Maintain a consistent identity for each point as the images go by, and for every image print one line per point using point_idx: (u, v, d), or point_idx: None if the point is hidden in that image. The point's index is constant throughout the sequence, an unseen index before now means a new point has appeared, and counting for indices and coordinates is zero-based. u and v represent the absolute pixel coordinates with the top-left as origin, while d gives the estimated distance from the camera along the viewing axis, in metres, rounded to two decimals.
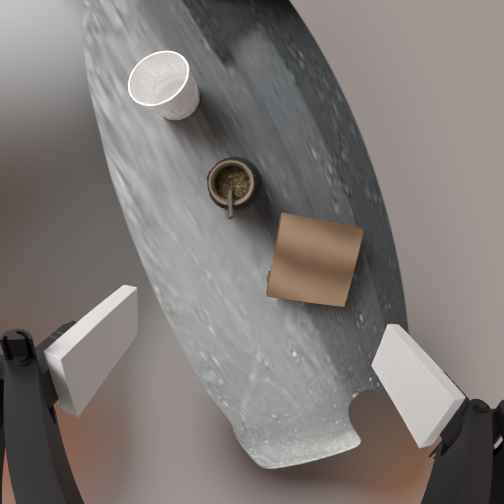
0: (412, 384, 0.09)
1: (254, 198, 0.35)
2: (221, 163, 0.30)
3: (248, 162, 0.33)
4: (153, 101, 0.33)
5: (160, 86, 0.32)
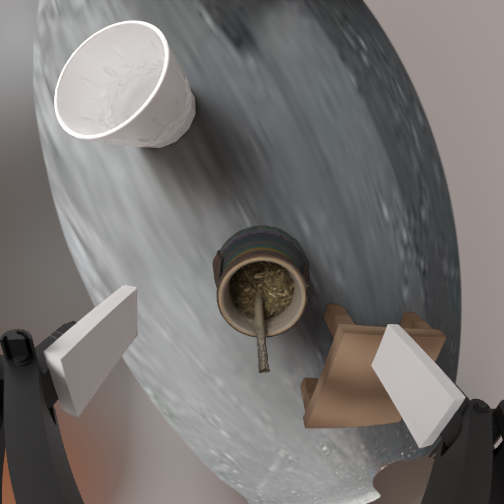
0: (412, 384, 0.09)
1: None
2: (243, 262, 0.15)
3: (289, 242, 0.19)
4: (114, 118, 0.18)
5: (127, 89, 0.18)
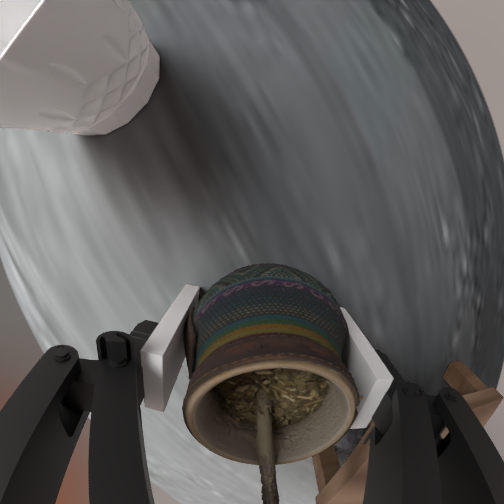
0: None
1: None
2: (231, 372, 0.06)
3: (321, 301, 0.10)
4: None
5: None
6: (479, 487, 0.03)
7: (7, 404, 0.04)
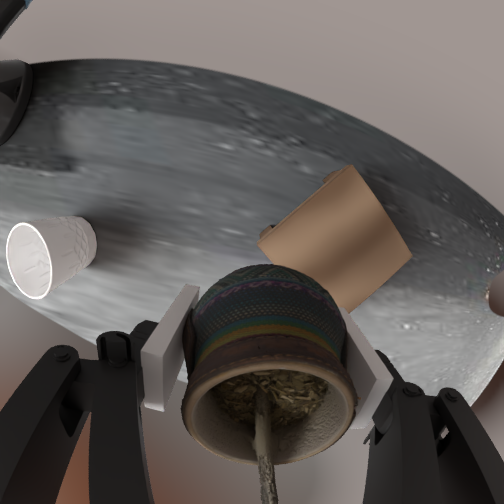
0: None
1: None
2: (229, 373, 0.06)
3: (319, 301, 0.10)
4: None
5: None
6: (479, 487, 0.03)
7: (7, 404, 0.04)
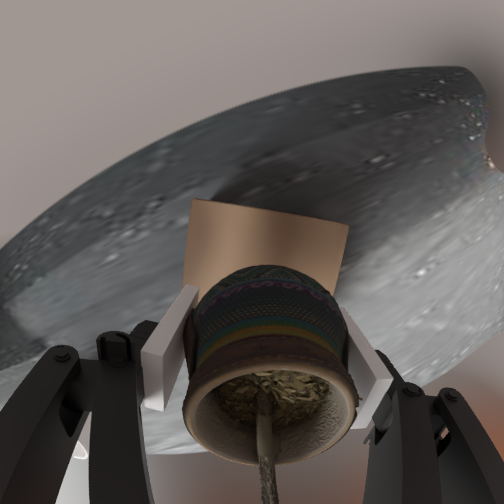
0: None
1: None
2: (231, 373, 0.06)
3: (321, 302, 0.10)
4: None
5: None
6: (479, 487, 0.03)
7: (7, 404, 0.04)
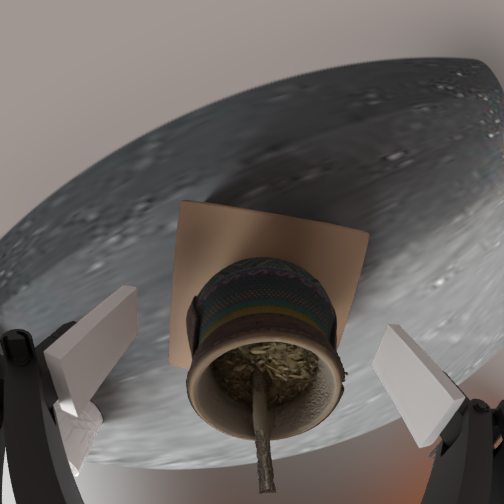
0: (412, 384, 0.09)
1: None
2: (230, 344, 0.08)
3: (310, 288, 0.11)
4: None
5: None
6: None
7: None
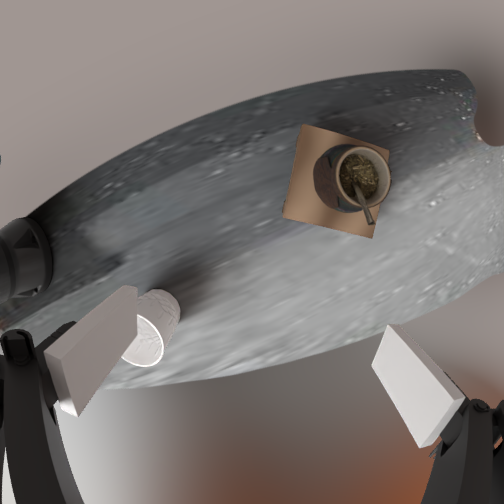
0: (412, 384, 0.09)
1: None
2: (353, 148, 0.21)
3: None
4: None
5: (144, 327, 0.37)
6: None
7: None
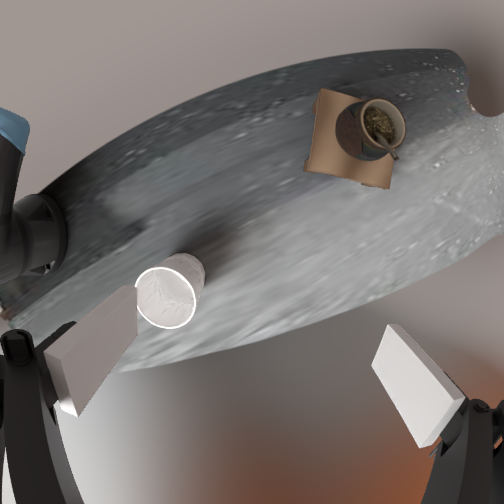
0: (412, 384, 0.09)
1: None
2: (373, 100, 0.22)
3: None
4: (185, 300, 0.38)
5: (168, 293, 0.38)
6: None
7: None
